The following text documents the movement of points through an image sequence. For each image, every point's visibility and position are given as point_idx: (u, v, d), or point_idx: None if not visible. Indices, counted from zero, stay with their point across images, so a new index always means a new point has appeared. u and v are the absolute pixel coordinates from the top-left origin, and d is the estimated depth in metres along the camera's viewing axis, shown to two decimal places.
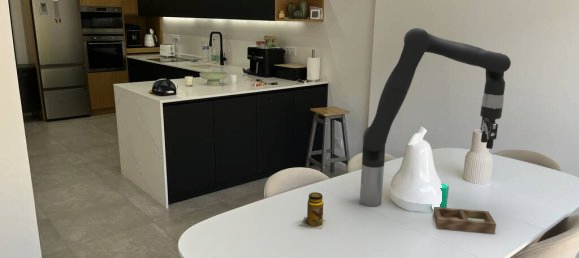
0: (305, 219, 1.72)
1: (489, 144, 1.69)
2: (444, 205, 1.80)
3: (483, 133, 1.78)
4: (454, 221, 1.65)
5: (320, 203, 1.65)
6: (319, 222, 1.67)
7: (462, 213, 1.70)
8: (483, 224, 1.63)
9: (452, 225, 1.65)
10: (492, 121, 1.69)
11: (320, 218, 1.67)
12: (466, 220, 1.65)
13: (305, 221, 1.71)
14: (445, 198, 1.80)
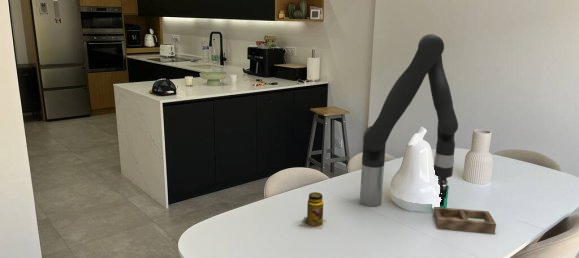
0: (305, 219, 1.72)
1: (440, 202, 1.79)
2: (444, 205, 1.80)
3: None
4: (454, 221, 1.65)
5: (320, 203, 1.65)
6: (319, 222, 1.67)
7: (462, 213, 1.70)
8: (483, 224, 1.63)
9: (452, 225, 1.65)
10: (443, 179, 1.76)
11: (320, 218, 1.67)
12: (466, 220, 1.65)
13: (305, 221, 1.71)
14: (445, 198, 1.80)
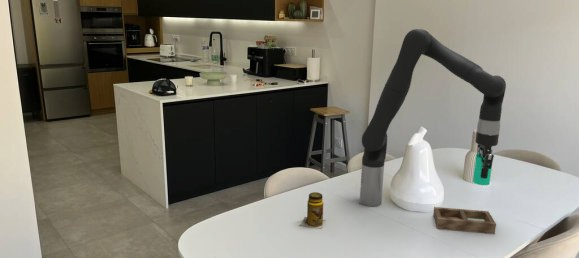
0: (305, 219, 1.72)
1: (484, 174, 1.60)
2: (488, 178, 1.62)
3: None
4: (454, 221, 1.65)
5: (320, 203, 1.65)
6: (319, 222, 1.67)
7: (462, 213, 1.70)
8: (483, 224, 1.63)
9: (452, 225, 1.65)
10: (488, 148, 1.58)
11: (320, 218, 1.67)
12: (466, 220, 1.65)
13: (305, 221, 1.71)
14: (489, 170, 1.61)
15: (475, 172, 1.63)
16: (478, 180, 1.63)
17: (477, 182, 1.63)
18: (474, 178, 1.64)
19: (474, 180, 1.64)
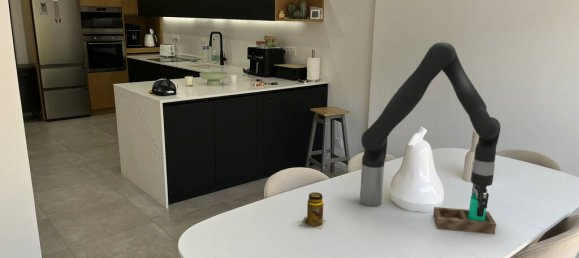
0: (305, 219, 1.72)
1: (480, 212, 1.63)
2: (482, 219, 1.66)
3: None
4: (454, 221, 1.65)
5: (320, 203, 1.65)
6: (319, 222, 1.67)
7: (462, 213, 1.70)
8: (483, 224, 1.63)
9: (452, 225, 1.65)
10: (483, 188, 1.61)
11: (320, 218, 1.67)
12: (466, 220, 1.65)
13: (305, 221, 1.71)
14: (484, 211, 1.65)
15: (470, 213, 1.67)
16: None
17: None
18: (469, 219, 1.68)
19: None
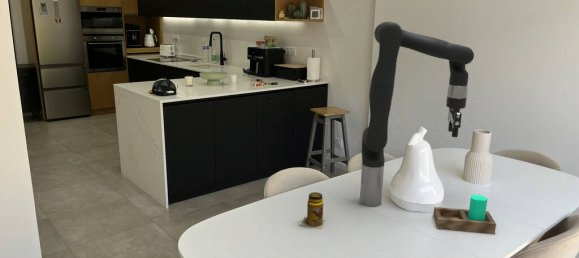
0: (305, 219, 1.72)
1: (454, 132, 1.78)
2: (482, 219, 1.66)
3: (450, 123, 1.87)
4: (454, 221, 1.65)
5: (320, 203, 1.65)
6: (319, 222, 1.67)
7: (462, 213, 1.70)
8: (483, 224, 1.63)
9: (452, 225, 1.65)
10: (457, 111, 1.78)
11: (320, 218, 1.67)
12: (466, 220, 1.65)
13: (305, 221, 1.71)
14: (484, 211, 1.65)
15: (470, 213, 1.67)
16: None
17: None
18: (469, 219, 1.68)
19: None
